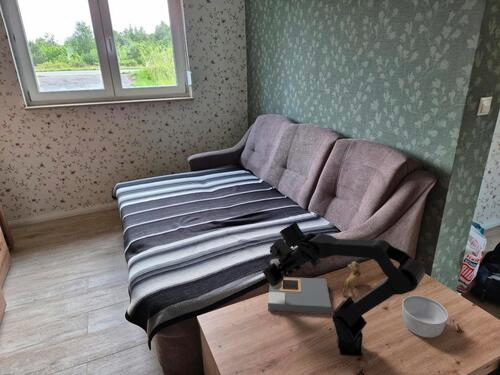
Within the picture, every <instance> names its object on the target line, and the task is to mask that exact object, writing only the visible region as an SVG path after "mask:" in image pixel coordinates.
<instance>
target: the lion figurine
mask: <svg viewBox="0 0 500 375" xmlns="http://www.w3.org/2000/svg"><path fill="white" fill-rule="evenodd" d="M347 268H348V269H349V276H348V277H347V278H346V279H345V281H344V284H343V285H344V286H343V290H342V295H341V296H343V297H345V296H346V300H347V299H348V297H349V295H348V288H350V294H351V295H353V296H355V295H356V292H354V288H355V286H356V287H359V286H360V284H359V283H360V278H361V275H362V274H361V267H360V264H359V263H358V262H357V261H352V262H350V263H349V264H347Z"/></svg>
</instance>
